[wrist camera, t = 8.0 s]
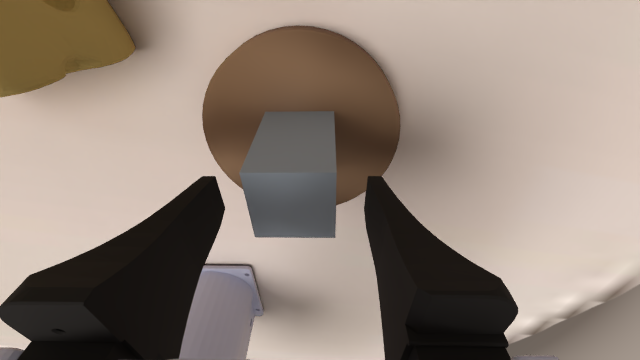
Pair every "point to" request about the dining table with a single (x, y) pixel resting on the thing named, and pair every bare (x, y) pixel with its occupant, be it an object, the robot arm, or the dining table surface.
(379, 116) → the disc
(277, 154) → the block
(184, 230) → the robot arm
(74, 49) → the cheese
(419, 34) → the dining table surface
